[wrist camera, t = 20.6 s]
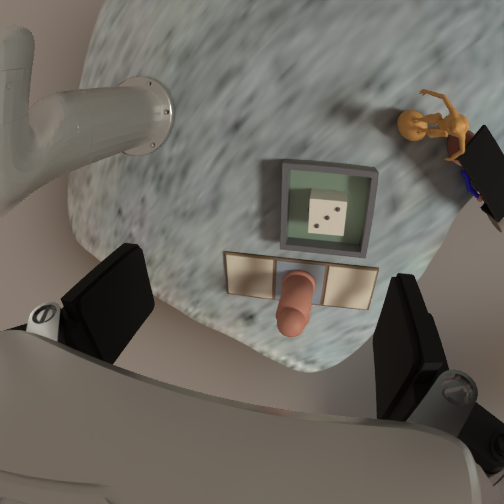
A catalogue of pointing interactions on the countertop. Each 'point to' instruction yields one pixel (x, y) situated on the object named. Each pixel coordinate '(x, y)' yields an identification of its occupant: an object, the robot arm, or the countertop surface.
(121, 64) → the countertop surface
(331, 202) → the die
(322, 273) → the track
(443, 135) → the figurine
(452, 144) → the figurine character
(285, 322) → the pink cylinder
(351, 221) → the tray
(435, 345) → the robot arm
